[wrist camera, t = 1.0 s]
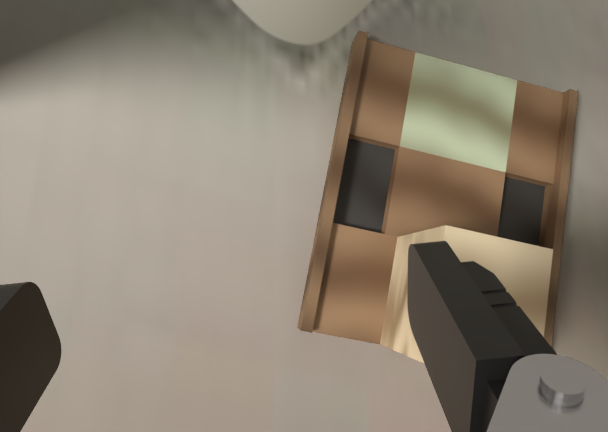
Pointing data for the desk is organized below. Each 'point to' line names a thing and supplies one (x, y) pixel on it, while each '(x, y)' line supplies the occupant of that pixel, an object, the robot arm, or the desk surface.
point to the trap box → (431, 175)
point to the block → (486, 252)
